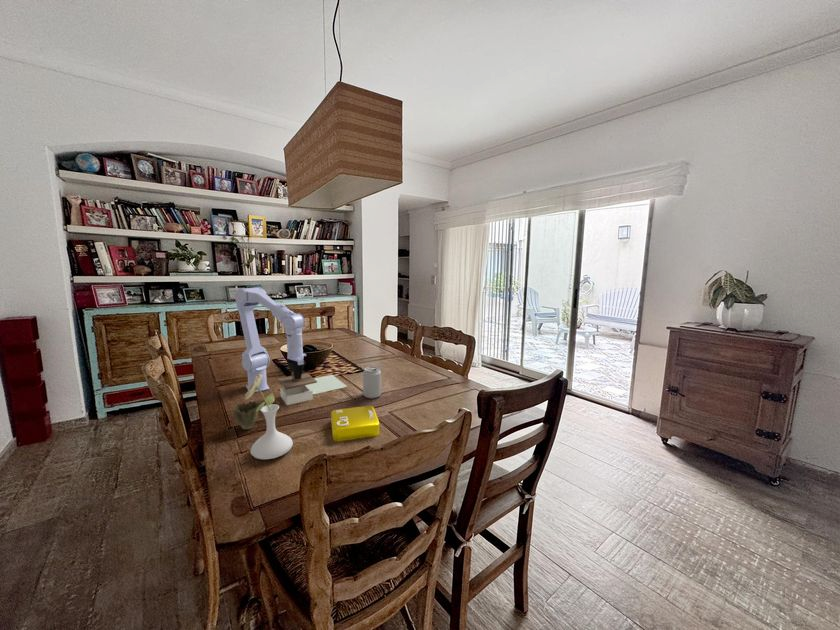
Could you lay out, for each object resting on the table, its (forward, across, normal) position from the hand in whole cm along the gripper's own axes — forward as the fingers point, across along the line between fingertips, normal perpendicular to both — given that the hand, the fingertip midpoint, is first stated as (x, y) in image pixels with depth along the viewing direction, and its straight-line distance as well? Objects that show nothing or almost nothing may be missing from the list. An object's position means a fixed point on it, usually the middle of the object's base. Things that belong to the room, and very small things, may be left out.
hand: (296, 377), depth 131 cm
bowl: (+9, 0, 0) cm, 9 cm away
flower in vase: (+9, -35, +17) cm, 40 cm away
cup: (+9, -15, +20) cm, 27 cm away
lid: (+2, 0, 0) cm, 2 cm away
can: (+9, -14, -27) cm, 32 cm away
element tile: (+10, -35, -9) cm, 37 cm away
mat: (+9, +9, -14) cm, 19 cm away
